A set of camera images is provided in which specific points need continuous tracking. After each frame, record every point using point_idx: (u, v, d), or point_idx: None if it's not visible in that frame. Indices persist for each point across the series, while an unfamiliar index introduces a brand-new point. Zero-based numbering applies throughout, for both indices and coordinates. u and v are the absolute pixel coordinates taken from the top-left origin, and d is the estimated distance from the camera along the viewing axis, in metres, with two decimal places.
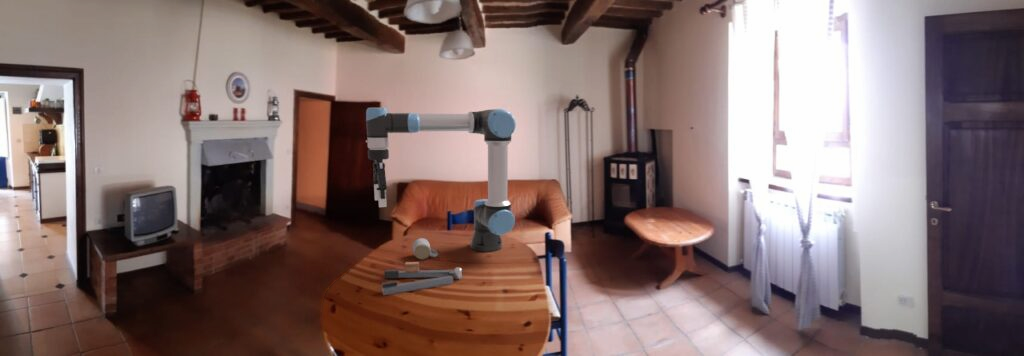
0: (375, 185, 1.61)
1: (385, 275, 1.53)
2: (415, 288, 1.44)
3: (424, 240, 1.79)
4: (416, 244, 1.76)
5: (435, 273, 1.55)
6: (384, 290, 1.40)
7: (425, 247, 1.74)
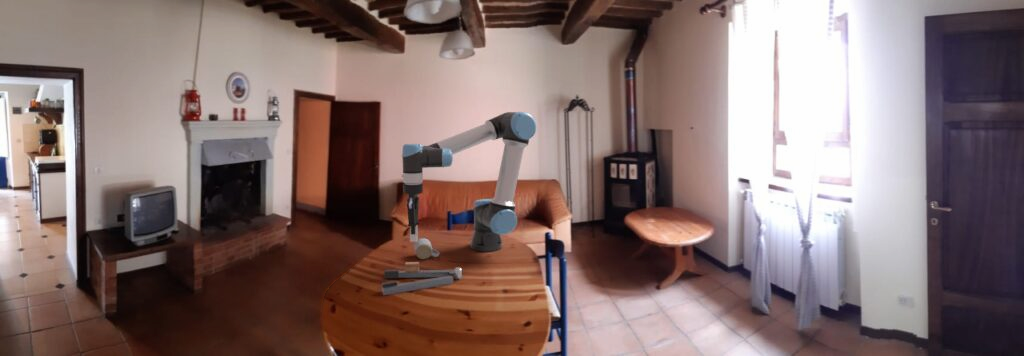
0: None
1: (385, 275, 1.53)
2: (415, 288, 1.44)
3: (426, 240, 1.79)
4: (418, 244, 1.76)
5: (435, 273, 1.55)
6: (384, 290, 1.40)
7: (427, 247, 1.74)
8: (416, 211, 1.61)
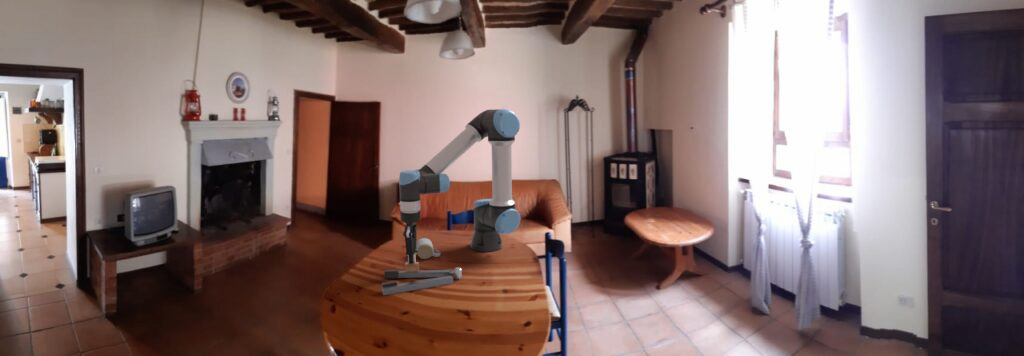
0: (409, 254, 1.57)
1: (385, 275, 1.53)
2: (415, 288, 1.44)
3: (427, 240, 1.79)
4: (419, 244, 1.76)
5: (435, 273, 1.55)
6: (384, 290, 1.40)
7: (428, 247, 1.74)
8: (414, 239, 1.57)
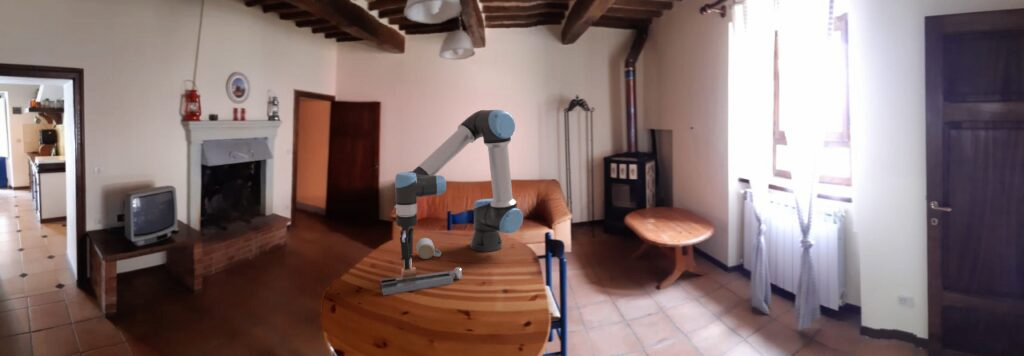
0: (405, 259, 1.52)
1: None
2: (415, 288, 1.44)
3: (428, 240, 1.79)
4: (420, 244, 1.76)
5: (434, 276, 1.52)
6: (384, 290, 1.40)
7: (429, 247, 1.74)
8: (410, 243, 1.52)
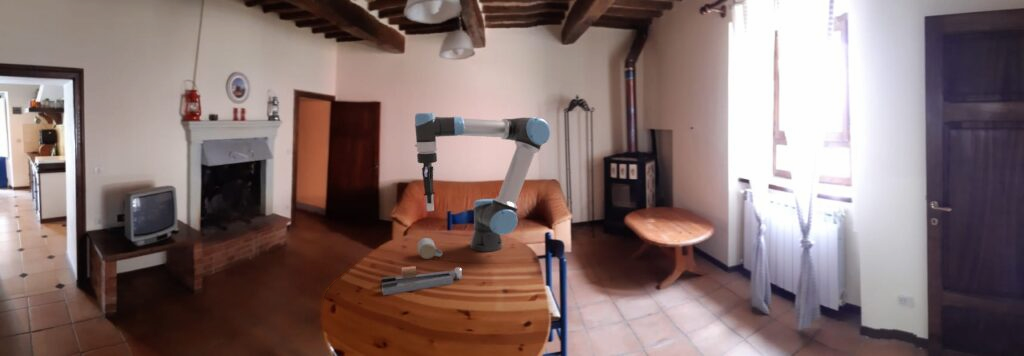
0: None
1: None
2: (415, 288, 1.44)
3: (429, 240, 1.79)
4: (421, 244, 1.76)
5: (434, 275, 1.52)
6: (384, 290, 1.40)
7: (430, 247, 1.74)
8: (431, 180, 1.62)
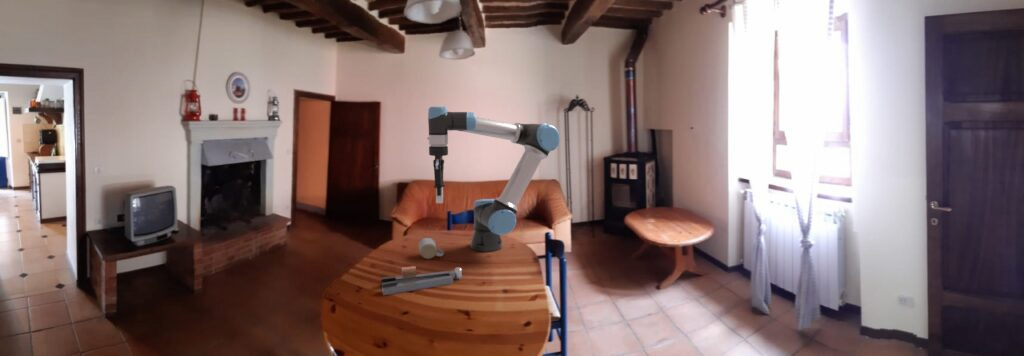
0: None
1: None
2: (415, 288, 1.44)
3: (430, 240, 1.79)
4: (422, 244, 1.76)
5: (434, 275, 1.52)
6: (384, 290, 1.40)
7: (431, 247, 1.75)
8: (441, 173, 1.65)
